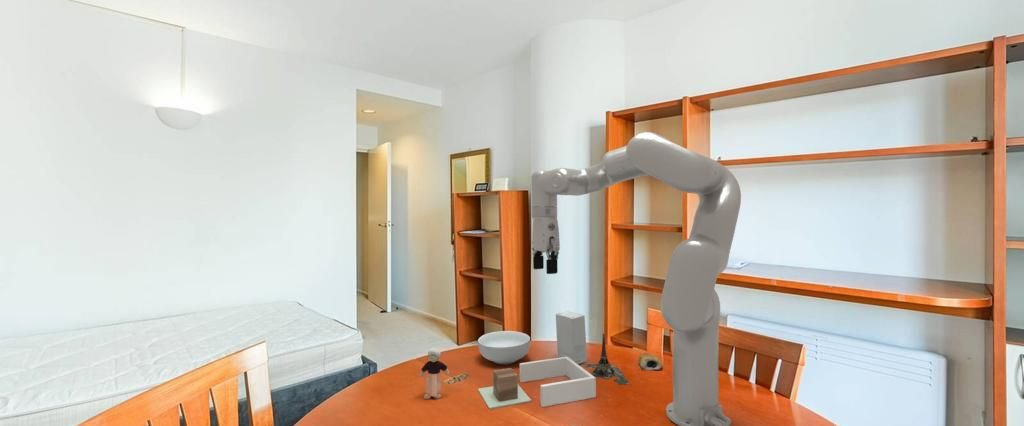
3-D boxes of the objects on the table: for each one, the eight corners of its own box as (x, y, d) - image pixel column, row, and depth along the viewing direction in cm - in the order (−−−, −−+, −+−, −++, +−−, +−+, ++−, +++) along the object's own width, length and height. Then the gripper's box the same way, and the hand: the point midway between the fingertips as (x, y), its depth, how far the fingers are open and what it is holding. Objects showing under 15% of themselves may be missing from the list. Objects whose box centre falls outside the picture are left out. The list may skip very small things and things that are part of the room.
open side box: (595, 397, 103) (595, 377, 103) (542, 407, 98) (542, 386, 98) (567, 373, 118) (567, 356, 118) (519, 381, 113) (519, 363, 113)
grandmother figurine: (420, 401, 101) (419, 351, 101) (419, 395, 105) (418, 346, 105) (450, 397, 103) (449, 348, 103) (448, 391, 107) (448, 344, 107)
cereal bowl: (509, 347, 141) (509, 327, 141) (541, 361, 128) (540, 339, 128) (468, 358, 131) (468, 337, 131) (498, 374, 118) (497, 350, 118)
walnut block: (517, 398, 102) (517, 375, 102) (499, 401, 100) (498, 378, 100) (511, 390, 106) (511, 367, 106) (493, 393, 105) (493, 370, 105)
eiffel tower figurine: (631, 386, 110) (630, 338, 110) (594, 387, 110) (594, 338, 110) (615, 365, 125) (615, 322, 125) (583, 365, 125) (583, 323, 125)
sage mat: (531, 401, 101) (531, 400, 101) (489, 409, 97) (489, 407, 97) (516, 383, 111) (516, 382, 111) (478, 390, 108) (478, 388, 108)
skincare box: (587, 362, 127) (586, 315, 126) (573, 366, 123) (572, 318, 123) (569, 354, 134) (569, 309, 133) (555, 358, 130) (555, 312, 130)
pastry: (635, 359, 129) (635, 347, 129) (657, 360, 128) (657, 348, 128) (640, 370, 120) (640, 358, 120) (664, 371, 119) (664, 359, 119)
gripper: (569, 213, 111) (570, 274, 111) (544, 212, 127) (544, 266, 127) (544, 213, 108) (545, 276, 108) (522, 213, 125) (522, 268, 125)
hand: (544, 271), depth 118 cm, fingers open, 9 cm apart
